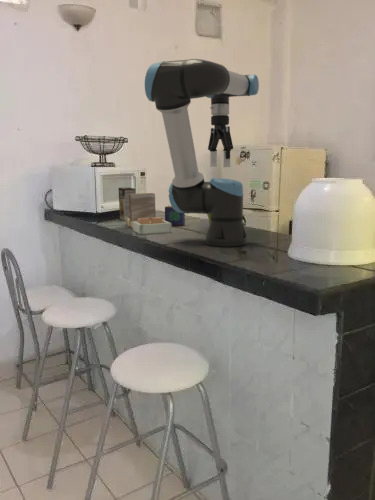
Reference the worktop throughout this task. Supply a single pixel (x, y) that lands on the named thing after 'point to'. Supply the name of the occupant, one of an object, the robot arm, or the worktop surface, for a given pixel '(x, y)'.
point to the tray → (152, 228)
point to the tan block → (141, 206)
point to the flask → (174, 216)
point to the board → (130, 222)
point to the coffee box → (125, 202)
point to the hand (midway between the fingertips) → (219, 167)
